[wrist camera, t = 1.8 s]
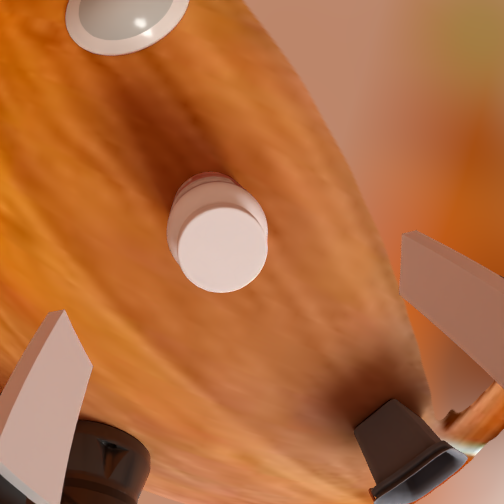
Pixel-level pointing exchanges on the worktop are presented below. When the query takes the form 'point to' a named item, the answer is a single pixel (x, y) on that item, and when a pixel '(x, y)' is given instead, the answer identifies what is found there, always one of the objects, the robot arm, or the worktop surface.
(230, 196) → the pill bottle
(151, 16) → the coaster
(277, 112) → the worktop surface
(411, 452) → the storage bin
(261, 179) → the worktop surface
